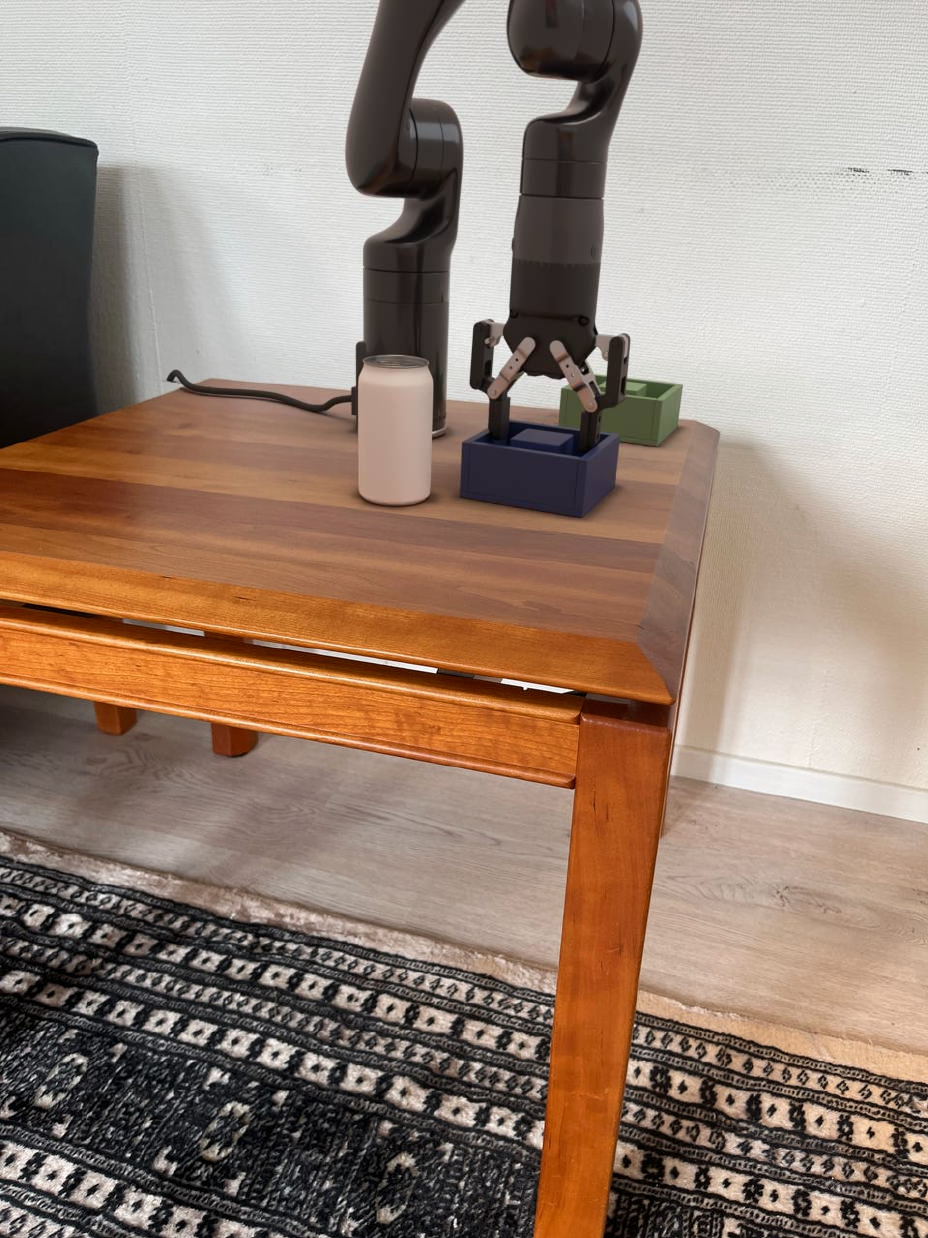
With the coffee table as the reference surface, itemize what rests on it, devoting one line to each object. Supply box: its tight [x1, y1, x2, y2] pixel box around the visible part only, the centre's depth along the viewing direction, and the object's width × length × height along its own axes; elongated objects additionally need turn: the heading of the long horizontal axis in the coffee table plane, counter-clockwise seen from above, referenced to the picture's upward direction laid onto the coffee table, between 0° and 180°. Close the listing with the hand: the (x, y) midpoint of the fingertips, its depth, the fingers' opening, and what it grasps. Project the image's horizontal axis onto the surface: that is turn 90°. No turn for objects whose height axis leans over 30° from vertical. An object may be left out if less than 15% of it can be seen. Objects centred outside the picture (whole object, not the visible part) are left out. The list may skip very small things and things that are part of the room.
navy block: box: [510, 429, 574, 456], centre depth 91 cm, size 5×5×5 cm
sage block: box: [598, 382, 647, 397], centre depth 114 cm, size 5×5×5 cm
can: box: [357, 355, 433, 507], centre depth 86 cm, size 6×6×12 cm
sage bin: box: [557, 373, 684, 447], centre depth 114 cm, size 12×11×5 cm
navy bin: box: [459, 418, 620, 518], centre depth 91 cm, size 12×11×5 cm
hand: (541, 444), depth 90 cm, fingers open, 7 cm apart
